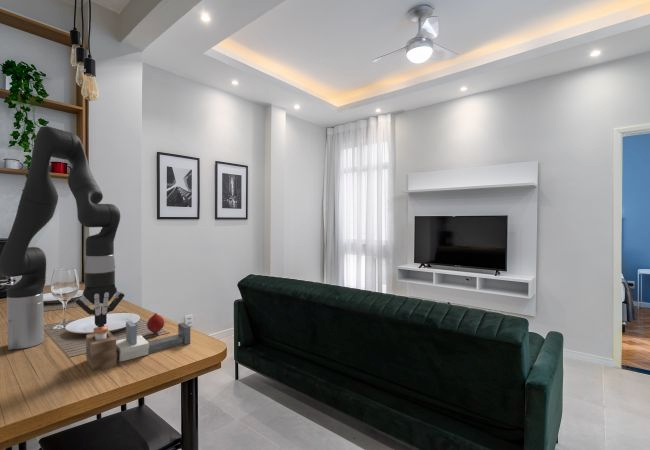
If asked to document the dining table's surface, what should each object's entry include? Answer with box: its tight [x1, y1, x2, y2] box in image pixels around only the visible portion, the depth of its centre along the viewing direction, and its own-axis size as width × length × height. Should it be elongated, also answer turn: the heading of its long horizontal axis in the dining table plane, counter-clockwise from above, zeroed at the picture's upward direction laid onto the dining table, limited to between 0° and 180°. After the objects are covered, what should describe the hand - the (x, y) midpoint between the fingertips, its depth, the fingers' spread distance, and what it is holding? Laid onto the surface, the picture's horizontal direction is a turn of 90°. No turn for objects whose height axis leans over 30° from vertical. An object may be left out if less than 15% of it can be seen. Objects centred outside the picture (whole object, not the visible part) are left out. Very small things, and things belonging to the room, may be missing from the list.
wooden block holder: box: [85, 329, 117, 373], centre depth 102 cm, size 6×10×8 cm, turn 44°
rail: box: [116, 322, 191, 363], centre depth 112 cm, size 23×6×6 cm, turn 134°
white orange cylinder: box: [93, 325, 109, 340], centre depth 101 cm, size 4×4×8 cm
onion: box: [146, 312, 165, 335], centre depth 126 cm, size 6×6×8 cm
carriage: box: [116, 320, 149, 362], centre depth 107 cm, size 8×9×10 cm
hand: (100, 326), depth 101 cm, fingers closed
